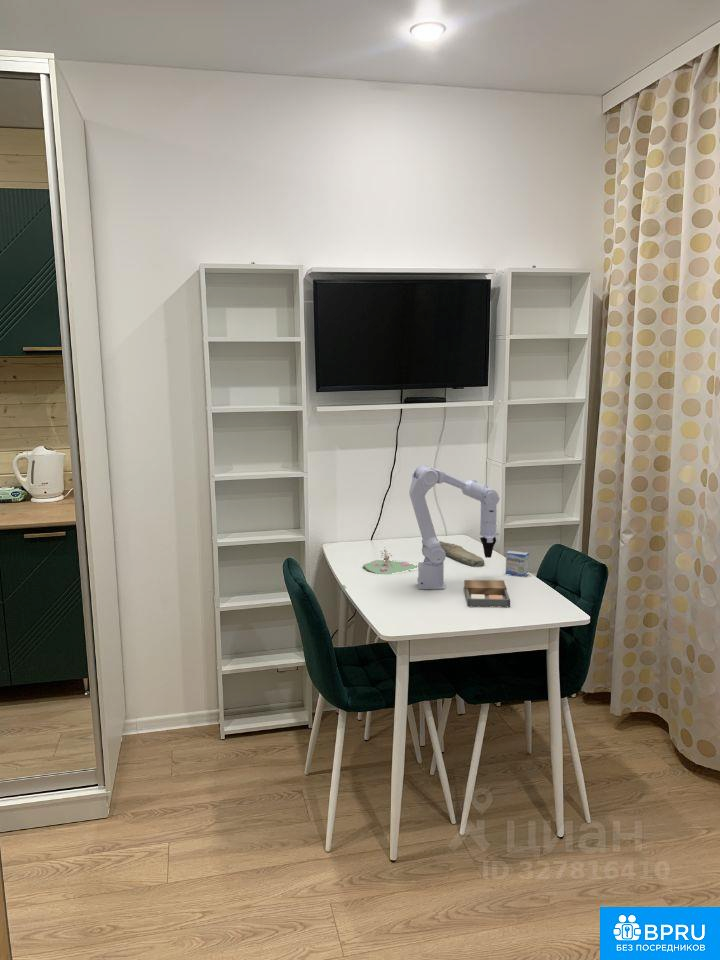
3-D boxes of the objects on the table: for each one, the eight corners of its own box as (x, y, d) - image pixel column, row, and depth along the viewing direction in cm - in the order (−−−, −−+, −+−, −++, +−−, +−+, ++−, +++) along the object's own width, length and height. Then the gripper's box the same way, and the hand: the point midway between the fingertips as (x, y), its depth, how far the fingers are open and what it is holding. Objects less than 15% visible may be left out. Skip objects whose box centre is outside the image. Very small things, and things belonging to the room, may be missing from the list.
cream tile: (471, 594, 255) (471, 599, 255) (471, 598, 250) (471, 604, 251) (484, 594, 254) (484, 600, 255) (484, 598, 250) (484, 604, 250)
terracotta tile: (488, 594, 254) (488, 600, 254) (489, 599, 249) (488, 604, 250) (502, 595, 253) (502, 600, 253) (502, 599, 249) (502, 605, 249)
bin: (467, 606, 249) (467, 599, 249) (465, 596, 260) (465, 589, 260) (510, 607, 248) (510, 599, 248) (506, 596, 259) (506, 589, 259)
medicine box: (505, 574, 285) (505, 552, 283) (508, 571, 289) (509, 549, 287) (525, 577, 281) (526, 554, 280) (528, 574, 285) (529, 552, 284)
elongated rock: (469, 572, 294) (490, 570, 298) (470, 559, 293) (491, 557, 297) (425, 547, 325) (444, 546, 329) (425, 536, 324) (445, 534, 328)
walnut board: (465, 596, 260) (465, 587, 260) (464, 588, 269) (464, 580, 268) (506, 596, 259) (506, 588, 258) (503, 588, 268) (503, 580, 267)
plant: (417, 559, 310) (417, 538, 308) (432, 573, 290) (432, 550, 288) (358, 563, 305) (358, 541, 304) (369, 577, 285) (368, 555, 284)
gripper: (501, 525, 265) (501, 562, 267) (497, 516, 279) (497, 552, 281) (481, 525, 265) (481, 562, 268) (478, 516, 280) (478, 551, 282)
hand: (487, 557), depth 275 cm, fingers closed
